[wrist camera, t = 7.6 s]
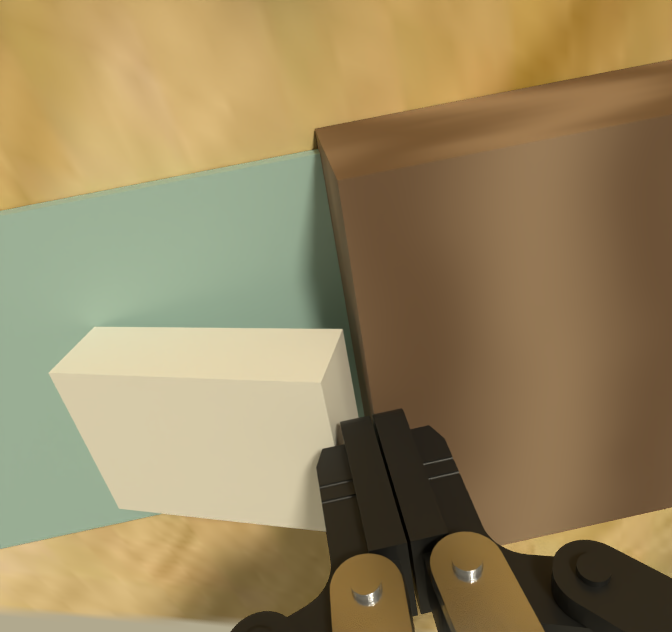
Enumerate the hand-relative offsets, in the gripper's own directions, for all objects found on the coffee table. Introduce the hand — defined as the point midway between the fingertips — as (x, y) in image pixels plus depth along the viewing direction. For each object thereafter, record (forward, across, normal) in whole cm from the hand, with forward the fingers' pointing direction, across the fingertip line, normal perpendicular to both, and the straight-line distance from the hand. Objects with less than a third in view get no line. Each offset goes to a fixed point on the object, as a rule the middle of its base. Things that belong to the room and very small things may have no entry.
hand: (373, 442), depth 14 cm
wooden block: (+5, -8, 0) cm, 9 cm away
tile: (+3, +3, 0) cm, 4 cm away
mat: (+5, +6, 0) cm, 8 cm away
